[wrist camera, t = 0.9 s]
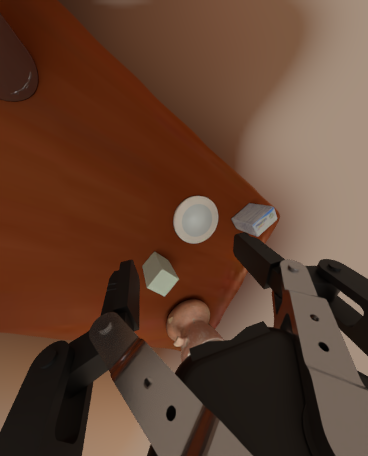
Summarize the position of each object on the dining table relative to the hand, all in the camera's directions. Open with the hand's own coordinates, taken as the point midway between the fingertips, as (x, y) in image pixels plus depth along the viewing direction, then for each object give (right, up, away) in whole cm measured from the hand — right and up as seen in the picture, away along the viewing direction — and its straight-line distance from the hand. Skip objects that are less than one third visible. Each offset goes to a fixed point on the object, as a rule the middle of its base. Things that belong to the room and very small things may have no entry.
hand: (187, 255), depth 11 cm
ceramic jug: (+1, -26, +38) cm, 46 cm away
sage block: (-8, -7, +28) cm, 30 cm away
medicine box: (+18, +6, +35) cm, 40 cm away
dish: (+3, +4, +29) cm, 30 cm away
